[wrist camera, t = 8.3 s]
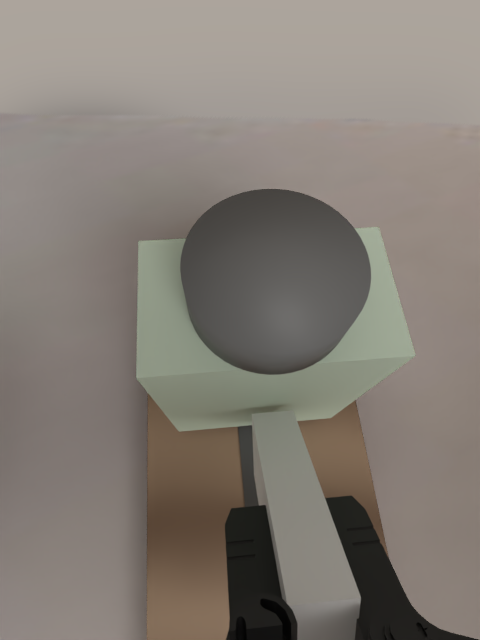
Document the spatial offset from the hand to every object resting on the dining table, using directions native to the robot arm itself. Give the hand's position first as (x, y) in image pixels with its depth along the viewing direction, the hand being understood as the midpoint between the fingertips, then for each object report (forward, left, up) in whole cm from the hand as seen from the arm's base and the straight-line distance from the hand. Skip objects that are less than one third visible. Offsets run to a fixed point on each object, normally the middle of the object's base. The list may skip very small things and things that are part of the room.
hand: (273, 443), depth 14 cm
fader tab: (-2, +3, -4) cm, 5 cm away
